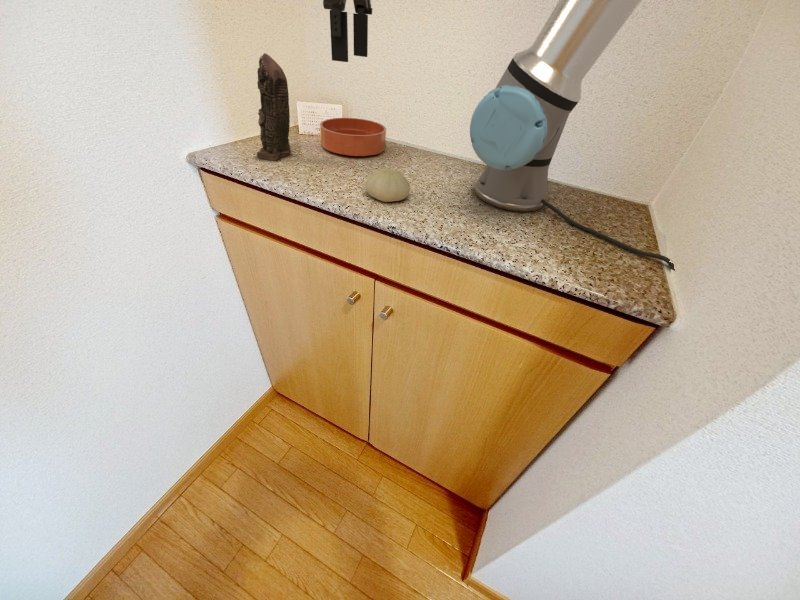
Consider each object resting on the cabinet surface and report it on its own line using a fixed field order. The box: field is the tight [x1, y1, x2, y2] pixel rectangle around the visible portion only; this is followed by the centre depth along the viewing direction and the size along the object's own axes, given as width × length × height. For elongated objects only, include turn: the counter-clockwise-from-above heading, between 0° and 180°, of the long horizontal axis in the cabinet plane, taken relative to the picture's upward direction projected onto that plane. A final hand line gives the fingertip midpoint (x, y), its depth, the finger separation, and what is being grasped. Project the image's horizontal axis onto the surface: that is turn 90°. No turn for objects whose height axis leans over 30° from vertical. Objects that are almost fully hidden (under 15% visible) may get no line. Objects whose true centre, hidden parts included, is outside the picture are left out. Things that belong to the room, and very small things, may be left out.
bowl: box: [319, 117, 387, 157], centre depth 86 cm, size 17×17×6 cm
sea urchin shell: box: [364, 167, 411, 203], centre depth 65 cm, size 9×8×8 cm
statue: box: [256, 52, 292, 162], centre depth 71 cm, size 7×7×20 cm
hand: (351, 58), depth 61 cm, fingers open, 13 cm apart
